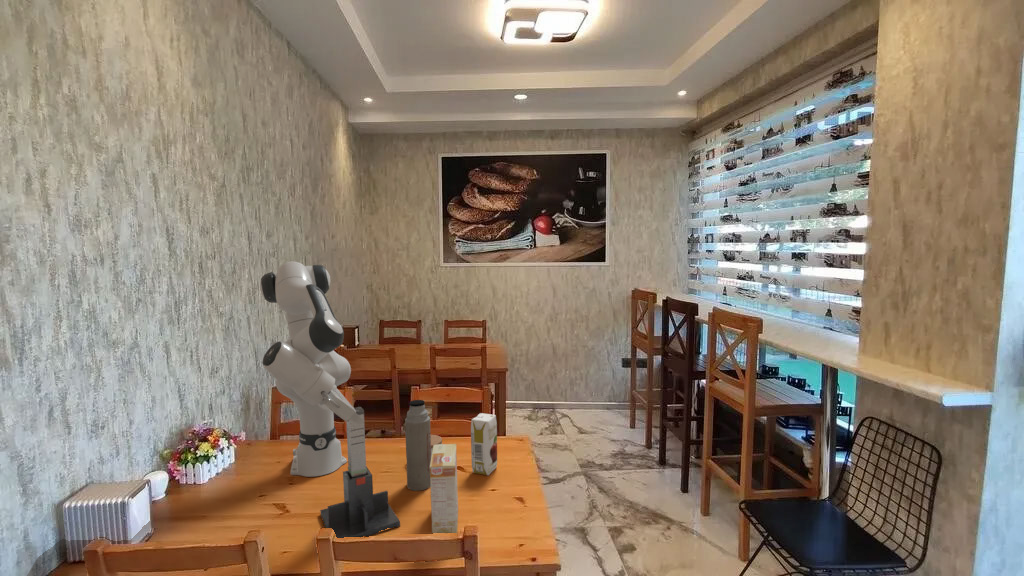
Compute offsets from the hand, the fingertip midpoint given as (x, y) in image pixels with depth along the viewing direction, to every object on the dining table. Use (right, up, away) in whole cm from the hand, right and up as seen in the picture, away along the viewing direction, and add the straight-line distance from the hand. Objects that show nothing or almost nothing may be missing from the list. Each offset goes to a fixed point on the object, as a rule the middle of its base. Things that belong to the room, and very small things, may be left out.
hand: (357, 416), depth 137 cm
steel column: (0, -21, +1) cm, 21 cm away
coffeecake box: (+25, -30, +2) cm, 39 cm away
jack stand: (0, -30, +2) cm, 30 cm away
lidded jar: (+13, -27, +41) cm, 51 cm away
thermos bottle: (+13, -29, +23) cm, 39 cm away
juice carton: (+34, -28, +33) cm, 55 cm away
